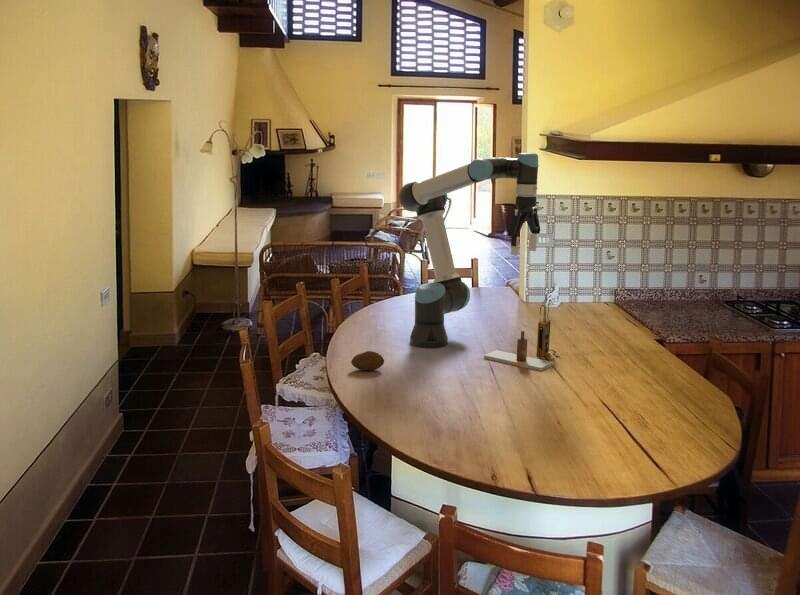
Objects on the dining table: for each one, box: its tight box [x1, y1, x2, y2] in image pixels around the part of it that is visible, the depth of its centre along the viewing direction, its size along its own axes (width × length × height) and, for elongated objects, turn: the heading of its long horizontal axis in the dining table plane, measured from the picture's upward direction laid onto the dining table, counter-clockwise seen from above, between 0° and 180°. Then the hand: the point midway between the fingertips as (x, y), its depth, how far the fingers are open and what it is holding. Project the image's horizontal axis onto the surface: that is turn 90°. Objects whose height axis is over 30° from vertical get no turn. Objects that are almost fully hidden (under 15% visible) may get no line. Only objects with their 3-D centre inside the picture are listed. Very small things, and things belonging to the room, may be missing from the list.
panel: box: [483, 349, 554, 372], centre depth 285 cm, size 24×9×1 cm, turn 52°
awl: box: [516, 330, 528, 362], centre depth 282 cm, size 4×4×11 cm
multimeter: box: [536, 301, 562, 361], centre depth 292 cm, size 15×10×20 cm
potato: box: [350, 350, 385, 371], centre depth 272 cm, size 7×12×7 cm, turn 101°
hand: (523, 252), depth 289 cm, fingers open, 13 cm apart
